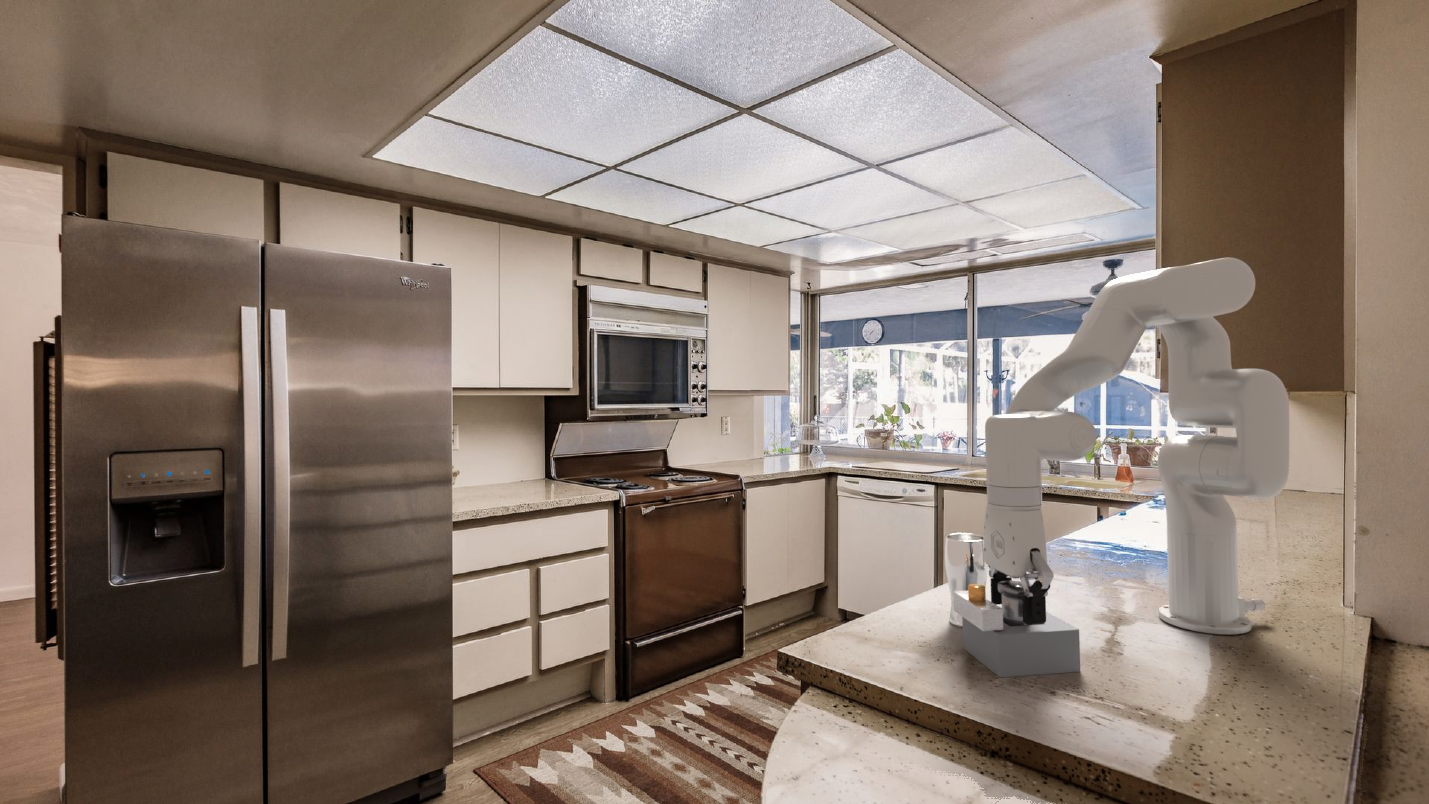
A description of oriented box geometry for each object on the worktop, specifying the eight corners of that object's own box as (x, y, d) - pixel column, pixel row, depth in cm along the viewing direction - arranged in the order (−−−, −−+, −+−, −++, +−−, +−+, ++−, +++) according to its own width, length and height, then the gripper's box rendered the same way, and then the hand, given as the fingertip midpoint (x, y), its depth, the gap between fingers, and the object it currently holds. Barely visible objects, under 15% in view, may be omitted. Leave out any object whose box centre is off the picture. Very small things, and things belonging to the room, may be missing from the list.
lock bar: (972, 609, 102) (971, 577, 102) (1003, 629, 93) (1002, 594, 93) (954, 610, 102) (953, 578, 102) (983, 631, 93) (982, 596, 93)
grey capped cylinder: (1024, 644, 101) (1022, 579, 101) (1043, 656, 96) (1041, 589, 96) (993, 646, 101) (991, 581, 101) (1010, 659, 96) (1008, 591, 96)
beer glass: (993, 630, 110) (990, 541, 110) (950, 629, 111) (947, 541, 111) (985, 616, 117) (982, 532, 117) (944, 615, 118) (941, 532, 118)
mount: (1035, 642, 104) (1034, 605, 104) (1080, 671, 93) (1079, 629, 93) (963, 647, 103) (962, 609, 103) (999, 677, 92) (998, 635, 92)
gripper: (962, 489, 106) (965, 596, 106) (1022, 507, 89) (1026, 635, 89) (1006, 487, 107) (1009, 594, 107) (1074, 504, 89) (1078, 631, 90)
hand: (1017, 612), depth 98 cm, fingers open, 8 cm apart
